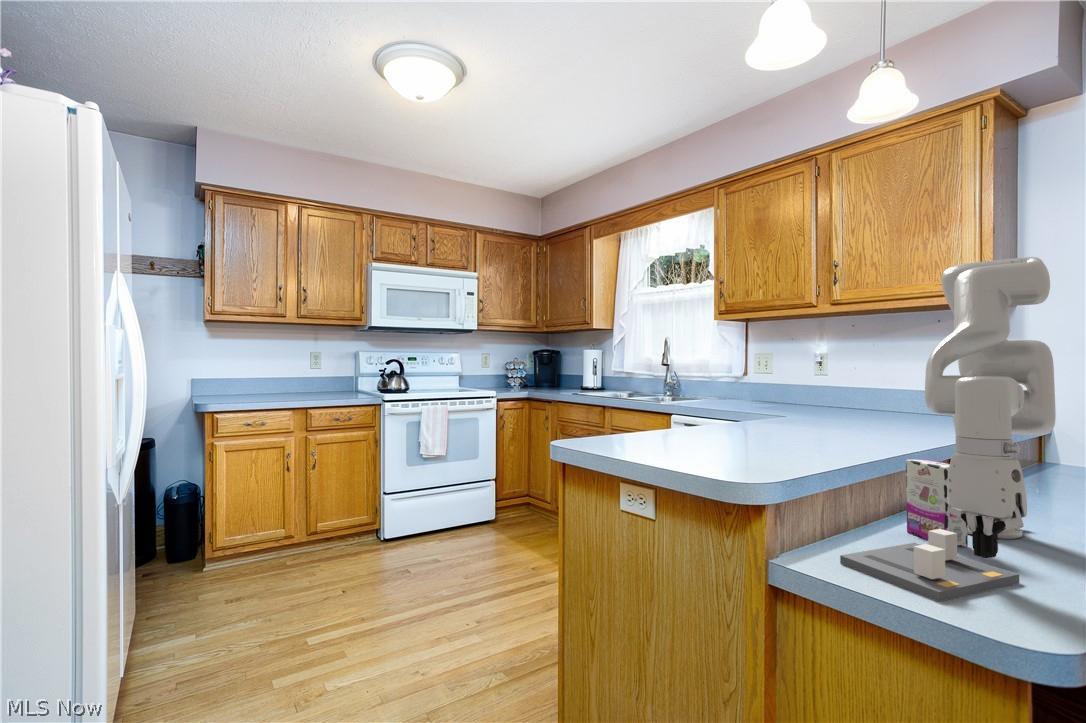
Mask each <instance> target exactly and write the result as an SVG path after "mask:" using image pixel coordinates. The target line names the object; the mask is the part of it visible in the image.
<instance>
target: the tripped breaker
mask: <svg viewBox="0 0 1086 723" xmlns="http://www.w3.org/2000/svg"><path fill="white" fill-rule="evenodd" d="M927 541H928V545H932V546H935V547H938V548H942V549H945V560H951V559H956V558H958V556H959V555H958V547H957V533H954V532H950V531H946V530H942V529H936V530H930V531H928V540H927Z"/></svg>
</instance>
